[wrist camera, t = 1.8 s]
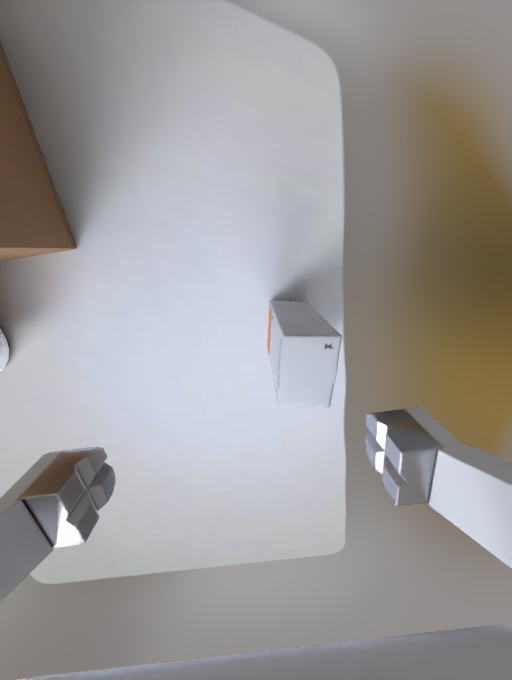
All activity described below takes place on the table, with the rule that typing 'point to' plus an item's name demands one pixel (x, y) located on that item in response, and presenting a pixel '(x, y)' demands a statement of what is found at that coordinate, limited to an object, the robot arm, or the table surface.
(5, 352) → the mug
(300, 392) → the cosmetic box
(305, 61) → the table surface
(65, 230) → the carton
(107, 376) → the table surface
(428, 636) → the robot arm
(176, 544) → the table surface
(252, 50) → the table surface
